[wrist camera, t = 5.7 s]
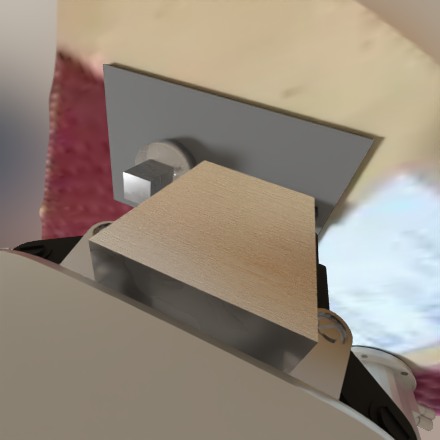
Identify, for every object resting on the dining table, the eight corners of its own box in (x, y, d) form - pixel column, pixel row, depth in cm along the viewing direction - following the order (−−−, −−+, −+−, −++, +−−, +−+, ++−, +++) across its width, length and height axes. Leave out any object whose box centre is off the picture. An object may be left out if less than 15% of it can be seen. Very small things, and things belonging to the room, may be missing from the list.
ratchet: (327, 189, 23) (332, 224, 17) (299, 240, 27) (296, 282, 21) (147, 131, 26) (103, 145, 21) (146, 184, 30) (109, 207, 25)
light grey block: (314, 197, 10) (318, 342, 4) (273, 277, 13) (243, 423, 7) (204, 160, 11) (87, 239, 5) (190, 242, 14) (106, 349, 8)
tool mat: (372, 138, 20) (374, 140, 19) (296, 266, 30) (296, 270, 29) (108, 64, 24) (102, 64, 24) (117, 197, 34) (114, 199, 34)
